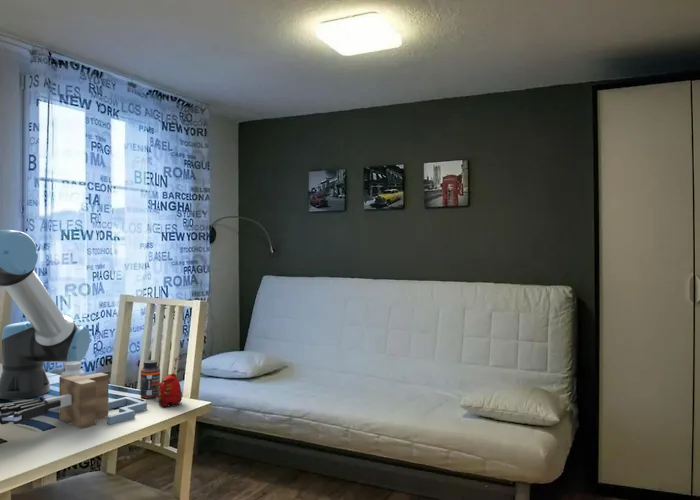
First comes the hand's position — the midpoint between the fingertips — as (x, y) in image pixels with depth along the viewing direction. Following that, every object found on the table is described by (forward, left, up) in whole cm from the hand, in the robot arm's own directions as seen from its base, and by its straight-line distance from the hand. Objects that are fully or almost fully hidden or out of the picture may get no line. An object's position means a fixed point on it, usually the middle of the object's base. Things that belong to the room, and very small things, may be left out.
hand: (70, 399), depth 156 cm
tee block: (0, +5, -7) cm, 9 cm away
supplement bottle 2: (-7, +29, -7) cm, 31 cm away
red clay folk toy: (+5, +28, -7) cm, 30 cm away
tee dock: (-1, +14, -7) cm, 15 cm away
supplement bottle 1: (-17, +9, -7) cm, 20 cm away
